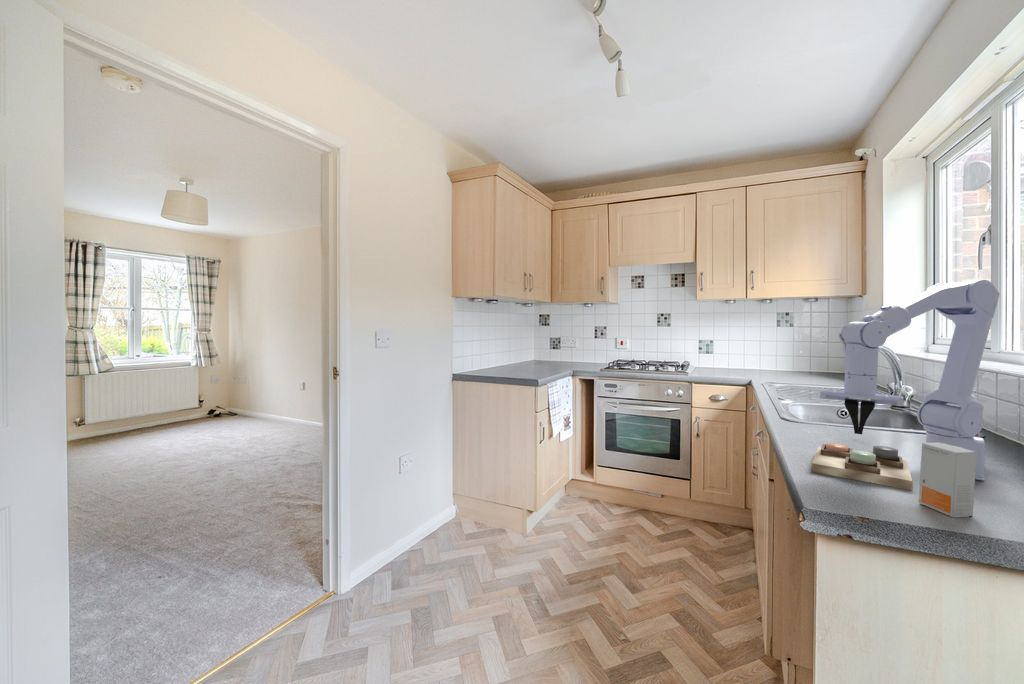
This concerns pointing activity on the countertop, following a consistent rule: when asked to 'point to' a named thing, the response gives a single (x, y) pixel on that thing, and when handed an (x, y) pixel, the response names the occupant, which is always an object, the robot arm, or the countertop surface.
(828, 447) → the terracotta button
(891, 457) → the charcoal button
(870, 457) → the sage button
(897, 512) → the countertop surface
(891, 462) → the button panel
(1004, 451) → the countertop surface
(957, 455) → the skincare box
